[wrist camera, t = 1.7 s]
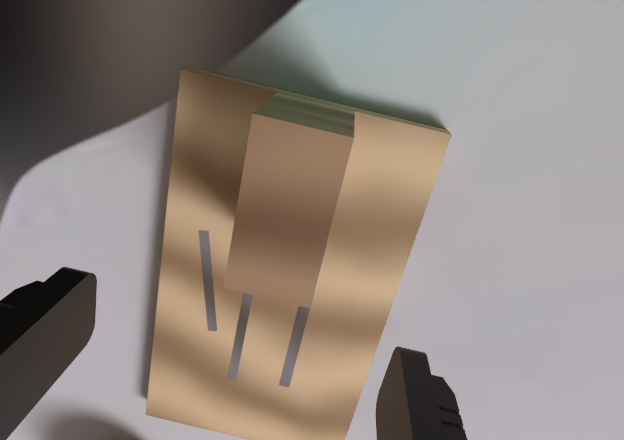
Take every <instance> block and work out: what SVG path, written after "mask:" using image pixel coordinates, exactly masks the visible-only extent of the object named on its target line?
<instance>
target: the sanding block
mask: <svg viewBox="0 0 624 440" xmlns="http://www.w3.org/2000/svg"><path fill="white" fill-rule="evenodd" d="M354 125H355V111H352V110H347V109H343V108H339V107H335V106H331V105H327V104H323V103H318V102H314V101H310V100H306V99H302V98H298V97H294V96H290V95H285V94H281V93H276V94H275V95H274V96H273V97H271V98H270V99H269V100H268V101H267V102H265V103H264V104H263V105H262V106H261V107H260V108H258V109H257V110H256V111H255V112H254V113H253V114H252V120H251V126H250V132H249V137H248V143H247V149H246V155H245V161H244V167H243V173H242V179H241V185H240V191H239V197H238V203H237V209H236V215H235V221H234V227H233V233H232V239H231V245H230V251H229V256H228V262H227V268H226V274H225V280H224V286H223V288H227V289H231V290H235V291H239V292H243V293H247V294H252V295H256V296H260V297H264V298H268V299H272V300H277V301H281V302H285V303H289V304H293V305H297V306H302V307H306V308H310V304H311V300H312V297H313V293H314V289H315V285H316V281H317V278H318V274H319V270H320V266H321V262H322V259H323V255H324V251H325V247H326V243H327V240H328V236H329V232H330V228H331V224H332V221H333V217H334V213H335V209H336V205H337V202H338V198H339V194H340V190H341V186H342V183H343V179H344V175H345V171H346V167H347V164H348V160H349V156H350V152H351V148H352V145H353V141H354Z"/></svg>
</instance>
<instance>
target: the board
mask: <svg viewBox="0 0 624 440" xmlns="http://www.w3.org/2000/svg"><path fill="white" fill-rule="evenodd" d="M276 93H281V94H285V95H290V96H294V97H298V98H302V99H306V100H310V101H314V102H318V103H323V104H327V105H331V106H335V107H339V108H343V109H347V110H352V111H355V125H354V141H353V145H352V148H351V152H350V156H349V160H348V164H347V167H346V171H345V175H344V179H343V183H342V186H341V190H340V194H339V198H338V202H337V205H336V209H335V213H334V217H333V221H332V224H331V228H330V232H329V236H328V240H327V243H326V247H325V251H324V255H323V259H322V262H321V266H320V270H319V274H318V278H317V281H316V285H315V289H314V293H313V297H312V300H311V304H310V308H306V307H302V306H297V305H293V304H289V303H285V302H281V301H277V300H272V299H268V298H264V297H260V296H256V295H252V294H247V293H243V292H239V291H235V290H231V289H227V288H223V286H224V280H225V274H226V268H227V262H228V256H229V251H230V245H231V239H232V233H233V227H234V221H235V215H236V209H237V203H238V197H239V191H240V185H241V179H242V173H243V167H244V161H245V155H246V149H247V143H248V137H249V132H250V126H251V120H252V114H253V113H254V112H255V111H256V110H257V109H258V108H260V107H261V106H262V105H263V104H264V103H265V102H267V101H268V100H269V99H270V98H271V97H273V96H274V95H275V94H276ZM450 137H451V134H450V133H449V131H448V130H446V129H442V128H438V127H434V126H430V125H426V124H421V123H417V122H413V121H409V120H405V119H401V118H397V117H393V116H388V115H384V114H380V113H376V112H372V111H368V110H364V109H359V108H355V107H351V106H347V105H343V104H339V103H335V102H331V101H326V100H322V99H318V98H314V97H310V96H306V95H302V94H298V93H293V92H289V91H285V90H281V89H277V88H273V87H269V86H264V85H260V84H256V83H252V82H248V81H244V80H240V79H236V78H231V77H227V76H223V75H219V74H215V73H211V72H207V71H203V70H198V69H194V68H190V67H187V68H183V69H181V70H180V79H179V89H178V98H177V108H176V118H175V128H174V138H173V148H172V158H171V168H170V178H169V188H168V198H167V208H166V218H165V228H164V238H163V248H162V258H161V268H160V278H159V287H158V297H157V307H156V317H155V327H154V337H153V347H152V357H151V367H150V377H149V387H148V397H147V407H146V415H149V416H153V417H157V418H161V419H165V420H170V421H174V422H178V423H182V424H186V425H191V426H195V427H199V428H203V429H207V430H212V431H216V432H220V433H224V434H228V435H233V436H237V437H241V438H245V439H249V440H345V438H346V435H347V432H348V429H349V426H350V423H351V420H352V417H353V415H354V412H355V409H356V406H357V403H358V400H359V397H360V395H361V392H362V389H363V386H364V383H365V380H366V377H367V375H368V372H369V369H370V366H371V363H372V360H373V357H374V355H375V352H376V349H377V346H378V343H379V340H380V337H381V335H382V332H383V329H384V326H385V323H386V320H387V317H388V314H389V312H390V309H391V306H392V303H393V300H394V297H395V294H396V292H397V289H398V286H399V283H400V280H401V277H402V274H403V272H404V269H405V266H406V263H407V260H408V257H409V254H410V252H411V249H412V246H413V243H414V240H415V237H416V234H417V232H418V229H419V226H420V223H421V220H422V217H423V214H424V212H425V209H426V206H427V203H428V200H429V197H430V194H431V191H432V189H433V186H434V183H435V180H436V177H437V174H438V171H439V169H440V166H441V163H442V160H443V157H444V154H445V151H446V149H447V146H448V143H449V140H450Z"/></svg>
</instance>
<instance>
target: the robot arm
mask: <svg viewBox="0 0 624 440" xmlns="http://www.w3.org/2000/svg"><path fill="white" fill-rule="evenodd" d="M96 285H97V280H96V276H95V274H93V273H88V272H84V271H80V270H76V269H72V268H67V267H63V268H61V269H59V270H58V271H57V272H56V273H55V274H53V275H52V276H51V277H50V278H48V279H47V280H46V281H45V282H40V281H35V282H33V283H30V284H28V285H25V286H23V287H20V288H18V289H15V290H14V291H12V292H11V293H10V294H9V295H7V296H6V297H5V298H3V299H2V300H1V301H0V440H6V439H7V438H8V437H9V436H10V434H11V433H12V432H13V431H14V430H15V429H16V427H17V426H18V425H19V424H20V423H21V421H22V420H23V419H24V418H25V417H26V416H27V414H28V413H29V412H30V411H31V410H32V409H33V407H34V406H35V405H36V404H37V403H38V401H39V400H40V399H41V398H42V397H43V396H44V394H45V393H46V392H47V391H48V390H49V389H50V387H51V386H52V385H53V384H54V383H55V381H56V380H57V379H58V378H59V377H60V376H61V374H62V373H63V372H64V371H65V370H66V368H67V367H68V366H69V365H70V364H71V363H72V361H73V360H74V359H75V358H76V357H77V356H78V354H79V353H80V352H81V351H82V350H83V348H84V347H85V346H86V345H87V343H88V341H89V340H90V338H91V335H92V333H93V330H94V325H95V310H96ZM376 429H377V440H467V437H466V434H465V430H464V429H463V423H462V419H461V416H460V415H459V409H458V405H457V401H456V398H455V394H454V393H453V391H452V390H451V389H450V387H449V386H448V384H447V383H446V382H445V380H444V379H443V377H438V376H434V375H431V372H430V368H429V363H428V359H427V355H426V354H425V353H423V352H419V351H415V350H410V349H406V348H402V347H396V348H395V350H394V352H393V354H392V357H391V360H390V363H389V365H388V368H387V371H386V374H385V376H384V379H383V382H382V385H381V387H380V390H379V394H378V398H377V404H376Z"/></svg>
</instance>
